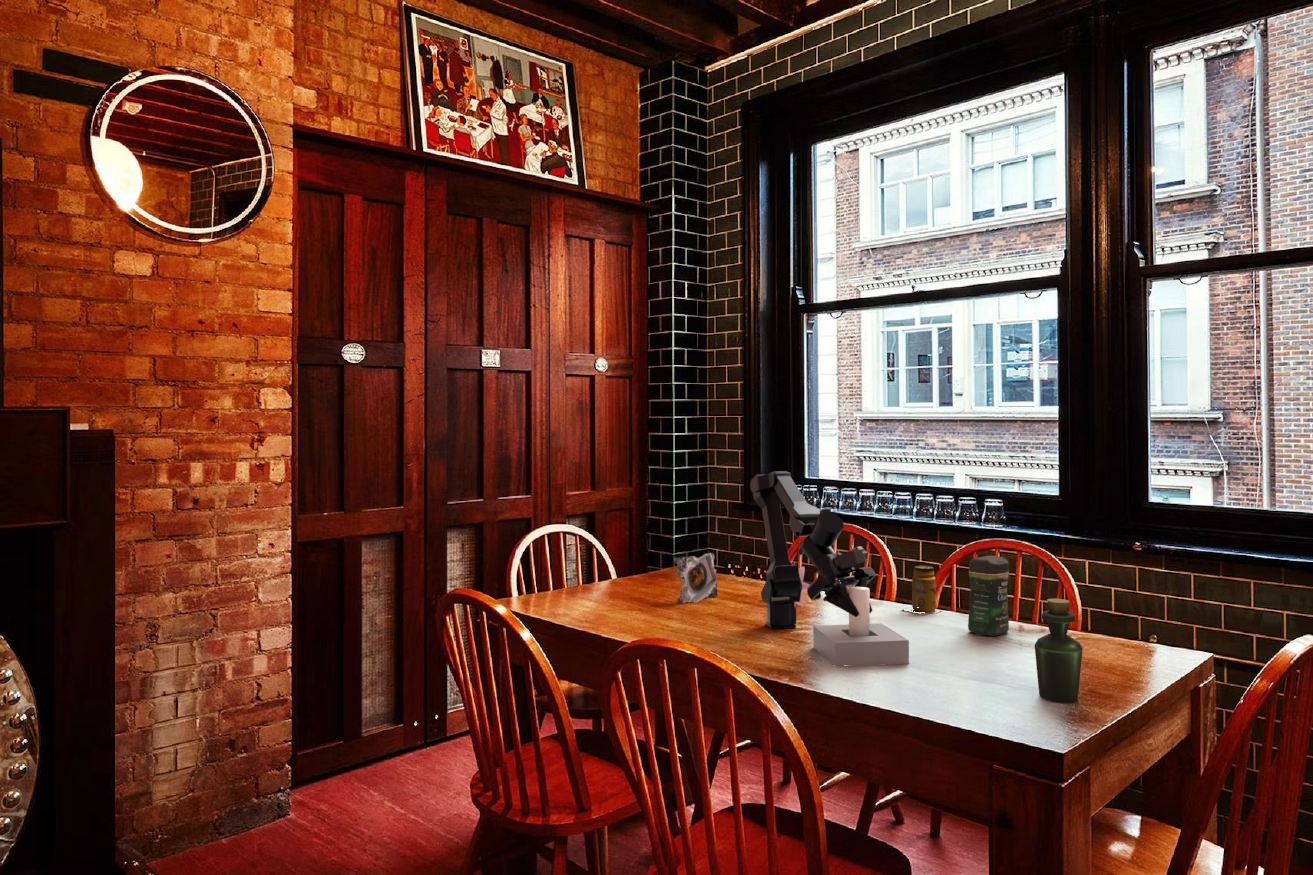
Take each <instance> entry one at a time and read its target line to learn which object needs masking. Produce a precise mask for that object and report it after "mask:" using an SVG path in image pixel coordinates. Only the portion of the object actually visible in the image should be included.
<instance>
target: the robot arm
mask: <svg viewBox="0 0 1313 875" xmlns="http://www.w3.org/2000/svg"><path fill="white" fill-rule="evenodd" d="M791 473H792V472H788V471H787V470H783V471H782V470H780V471H778V470H777V471H772V472H769V473H767V474H755V475H754V476H753V478H752V479H751V480H750V483H749V485H750V486H749V488H750V492H751V493H752V496H753V500H754V502H755V504H757V506H758V507H759V508H760V509H761V511H762V519H763V524H764V530H765V537H766V543H767V544H766V545H767V549H768V550H767V551H768V556H769V561H770V562H769V564H770V565H769V567H768V570H767V572H766V575H765V583H764V585H763V587H762V589H761V591H760V597H761V601H762V602H764V603H766V606H767V607H766V611H767V612H766V615H767V616H766V617H767V618H766V619H767V620H766V621H765V624H766V626H768V627H769V628H770V629H772V630H773V629H796V628H797V625H796V624H797V607H795V603H796V602H800V597H801V591H802V582H801V579H800V576H799V566H798V565H797V564H793V562H792V561H791V560H790V557H789V550H788V544H787V543H788V542H787V537H786V531H785V527H784V526H785V525H784V519H783V514H782V507H781V504H783V505H784V507H785V509H786V511H787V513H788V514H789V516H790V517H789V522H788V524H789V528H790V531H791V532H792V533H793V535H794V536H795V537H801V538H802V537H805V538H804V539H803V541H802V542H799V544H798V546H799V547H798V555H799V556H803V555H805V556H806V557H807V558H808V560H809V561H810V563H811V564H812V565H813V567H814V568H813V569H812V572H813V574H814V575H816V574H819V575H818V576H817V577H816V578H815V579H814V580H813V581H812V583H810V586H809V587H808V588H807V591H806V592H807V593H806V594H807V596H808V598H809V599H810V600H811V602H812V601H813V602H814V601H817V600H820V599H821V597H822V594H821V593H822V592H823V591H824V592H823V593H824V595H825V596H824V597H823V599H822V601H824V602H828V603H829V604H831V605H833V606H834V607H837V608H839V609H841V610H842V611H844V612H846V613H847V614H849V613H850V614H851V615H853V616H855V617H857V616H858V615H859V612H858V610H857V608H856V607H855V605H854V603H853V602H852V600H851V598H850V597H849V588H850V587H866V588H867V585H868V584H869V583H870V582H871V581H872V580H873V579H874V578H875V577H876V576H877V573H876V572H875V571H874V569H873V568H872V567H870V566H863V567H858V568H857V569H856V568H855V567H856V566H859V565H861V564H862V565H864V564H866V563H867V562H868V561H867V559H868V555H869V553H868V551H866V550H865V548H863V546H861V545H860V546H855V547H854V548H852V549H851V550H849V551H846V552H844V553H842V552H836V551H835V550H834V549H833V547H832V546H833V545H834V544H836V540H837V539H838V538H839V537H840V535H841V532H842V531H843V529H844V527H845V524H844V523H845V522H844V520H843V518H841V517H840V516H838V515H837V514H836V513H833V512H831V508H821V510H819V509H818V508H817V507H816V506H814V505H811V504H810V503H808V502H807V500H806V499H805V497H804V495H803V494H802V492H801V491H800V490H799V488H798V486H797V485H796V483H795V482H794V479H793V476H792V474H791ZM851 573H852V574H851ZM847 590H848V592H847ZM869 607H870V614H872V612H873V609H872V605H871V602H870V601H869Z"/></svg>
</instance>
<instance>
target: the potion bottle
mask: <svg viewBox="0 0 1313 875" xmlns="http://www.w3.org/2000/svg"><path fill="white" fill-rule="evenodd" d="M1046 601H1047V606H1048V610H1045V611H1042V614H1041V617H1040V618H1041V619H1042V620H1044V621H1045V622H1046V623H1047V626H1048V630H1049V633H1047V634H1045V635H1044V636H1040V638H1039V637H1038V638H1037V640H1036V642H1035V644H1034V652H1035V664H1036V665H1035V666H1036V673H1037V674H1036V676H1037V685H1038V695H1039V696H1040V697H1041V698H1042V699H1043V700H1045V701H1048V702H1052V703H1058V704H1072V703H1075V702H1077V701H1078V700H1079V691H1080V683H1081V682H1080V681H1081V669H1082V660H1083V649H1084V648H1083V646H1082V644H1081V642H1079V641H1078V640H1076V639H1075V638H1073V637H1071V636H1070V635H1068V631H1069V628H1070V624H1071V623H1074V622H1076V621H1077V619H1076V617H1075V613H1073V612H1070V611H1069V608H1070V607H1069V606H1070V600H1068V599H1063V598H1047V600H1046Z"/></svg>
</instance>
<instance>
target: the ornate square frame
mask: <svg viewBox="0 0 1313 875" xmlns="http://www.w3.org/2000/svg"><path fill="white" fill-rule="evenodd" d="M714 560H715V554H714V553H713V552H710V553H704V554H703V555H702V556H700V557H697V556H695V555H690V556H676V557H673V561H674V563H675V564H676V565H677V566H676V572H677V575H678V577H679V578H680V580H681V583H682V586H681V587H680V590H678V592H679V595H678V596H679V597H678V598H677V604H682V603H683V604H685V603H690V602H694V603H698V602H700V601H702V600H704V599H707V598H710V597H709V596H712V597H714V596H716V597H718V577H717V576H716V575H717V574H716V573H717V569H715V566H714Z"/></svg>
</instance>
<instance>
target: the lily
mask: <svg viewBox="0 0 1313 875" xmlns="http://www.w3.org/2000/svg"><path fill="white" fill-rule="evenodd" d="M798 569H799V576H800V579H801V582H802V591H801V597H800V602H795V604H797V605H798V606H799V607H804V604H805V603H804V601H805V600H804V594H803V593H804V592H807V588H808V587H809V586H810V585H811V583H810V584H809V583H807V582H804V578H805V570H806V569H805V566H801V567H798Z"/></svg>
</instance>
